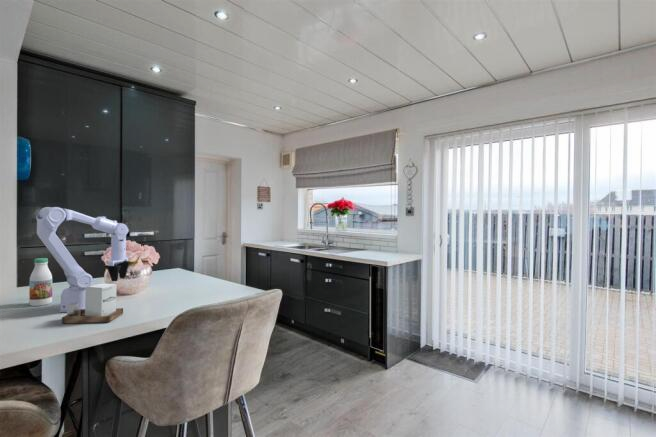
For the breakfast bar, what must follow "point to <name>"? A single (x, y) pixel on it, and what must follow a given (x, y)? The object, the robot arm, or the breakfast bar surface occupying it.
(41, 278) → the milk bottle
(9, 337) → the breakfast bar surface
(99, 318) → the wooden serving tray
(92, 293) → the supplement box
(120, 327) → the breakfast bar surface
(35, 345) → the breakfast bar surface
